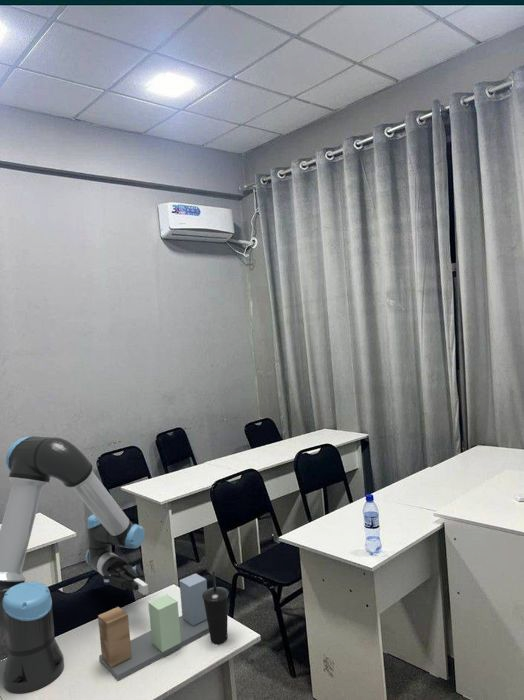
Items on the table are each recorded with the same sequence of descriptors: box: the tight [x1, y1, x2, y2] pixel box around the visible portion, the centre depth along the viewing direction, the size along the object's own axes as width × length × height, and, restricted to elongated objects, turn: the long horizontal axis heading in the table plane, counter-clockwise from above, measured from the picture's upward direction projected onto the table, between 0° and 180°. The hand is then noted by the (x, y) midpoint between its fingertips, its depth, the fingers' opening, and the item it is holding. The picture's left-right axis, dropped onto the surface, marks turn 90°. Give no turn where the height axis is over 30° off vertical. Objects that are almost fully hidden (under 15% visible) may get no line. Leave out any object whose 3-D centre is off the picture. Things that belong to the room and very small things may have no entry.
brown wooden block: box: [97, 606, 132, 667], centre depth 142 cm, size 6×6×12 cm
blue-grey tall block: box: [178, 573, 208, 626], centre depth 159 cm, size 6×6×12 cm
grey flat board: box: [98, 615, 210, 681], centre depth 150 cm, size 12×32×2 cm, turn 130°
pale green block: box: [148, 593, 181, 652], centre depth 147 cm, size 6×6×12 cm
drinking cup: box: [202, 571, 230, 645], centre depth 150 cm, size 8×8×20 cm
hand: (145, 589), depth 156 cm, fingers closed
